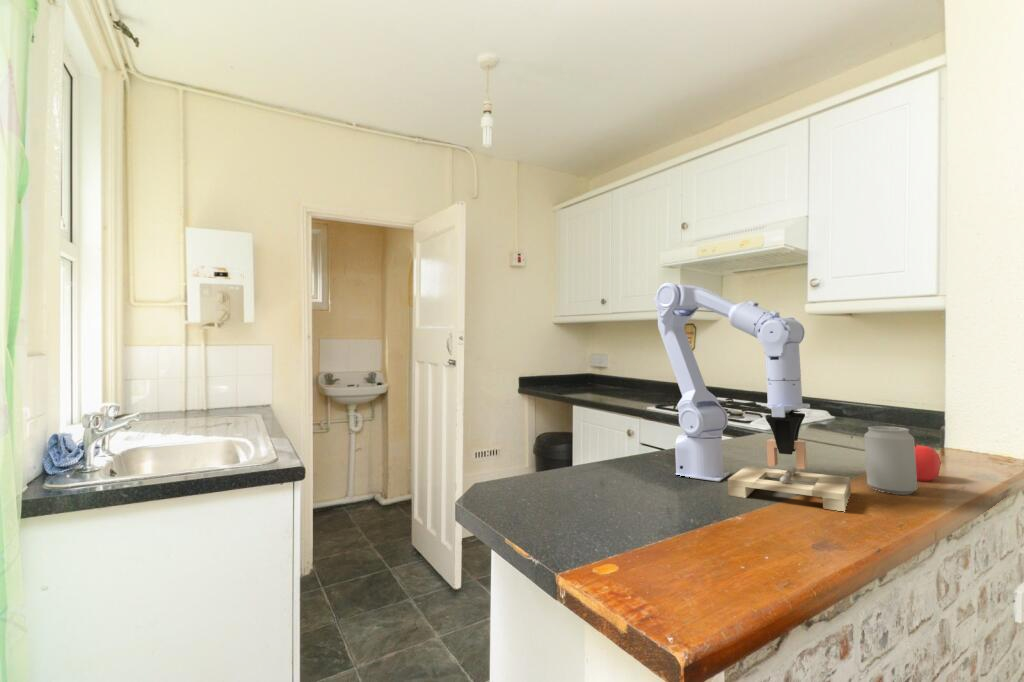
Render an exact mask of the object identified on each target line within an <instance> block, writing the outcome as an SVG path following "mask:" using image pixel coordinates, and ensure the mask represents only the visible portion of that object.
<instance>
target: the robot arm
mask: <svg viewBox="0 0 1024 682" xmlns="http://www.w3.org/2000/svg"><path fill="white" fill-rule="evenodd" d="M653 303H654V306H655V309H656V312H657V328H658V331H659V334H660V337H661V339H662V340H661V341H662V343H663V345H664V348H665V351H666V355H667V357H668V359H669V363H670V366H671V368H672V371H673V373H674V376H675V381H676V382H677V384H678V388H679V391H680V394H681V398H680V399H679V401H678V403H677V404H676V407H677V410H678V424H679V426H680V429H681V430H682V432H684V434H678V435H677V436H676V439H675V444H674V447H675V449H674V450H675V451H674V452H675V455H674V456H675V474H676V475H680V476H679V477H681V476H685V477H684V478H689V477H690V479H698V480H705V481H712V482H721V481H722V480H724V479H725V478H726V477H728V476H729V475H730V472H728V471H724V461H723V460H724V459H723V458H724V456H723V435H724V430H725V429H726V427H727V426H728V423H729V416H728V412H727V411H726V409H725V408H724V407H723V406H722V405H721V404H720V402H719V400H718V397H716V396H715V395H714V394H713V393H712V392H710V391H709V390H708V388H707V387H706V386H707V385H706V384H705V380H704V377H703V376H702V373H701V370H700V367H699V365H698V362H697V359H696V357H695V354H694V351H693V349H692V346H691V344H690V340H689V339H688V335H687V333H686V330H685V326H686V324H687V323H688V322H689V321H690V319H692V317H693V316H694V315H695V313H696V312H697V311H698V310H699V309H700V308H703V309H706V310H709V311H711V312H714V313H716V314H719V315H721V316H723V317H726V318H727V319H729V322H730V325H731V326H732V327H733V328H735V329H737V330H739V331H742V332H743V333H745V334H747V335H750V336H752V337H754V338H756V339H757V340H758V341H759V342H760V344H761V345H762V347H763V350H764V355H765V374H766V375H765V376H766V394H767V395H766V396H767V402H766V408H767V409H770V410H771V414H766V415H765V416H764V417H765V420H766V422H767V423H768V425H769V427H770V429H771V432H772V434H773V437H774V438H773V439H775V441H776V445H777V452H778V454H781V455H791V456H792V455H793V452H795V453H796V449H794V441H799V439H798V438H799V433H800V429H801V426H802V423H803V421H804V419H805V417H806V414H805V413H803V412H797V411H798V410H801V409H809V408H811V404H810V403H803V391H802V374H801V373H802V372H801V371H802V370H801V357H800V356H801V355H800V344H801V343H802V342H803V340H804V337H805V328H804V326H803V324H802V323H801V322H800V321H799V320H797V319H796V318H794V317H788V316H787V317H781V315H780V312H779V311H776V310H772V311H770V310H767V309H765V308H762V307H760V306H759V303H758V302H757V301H754V300H749V301H742V302H739V303H735V302H733V301H731V300H729V299H727V298H725V297H723V296H721V295H720V294H717V293H715V292H713V291H711V290H709V289H707V288H705V287H701V286H700V287H698V286H697V285H694V284H693V285H691V284H690V285H689V284H687V285H685V284H679V283H678V284H677V283H673V282H665V283H663V284H661V285H660V287H659V288H658V289H657V291H656V294H655V295H654V298H653ZM675 474H674V475H675Z"/></svg>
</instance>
